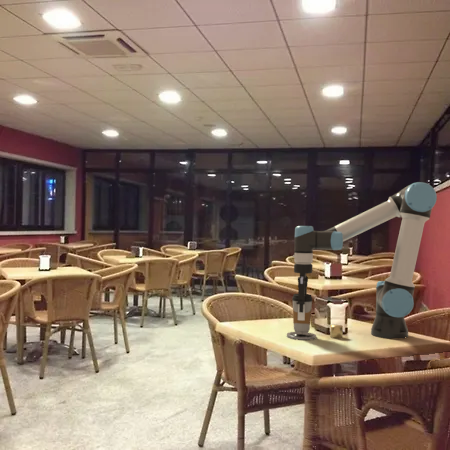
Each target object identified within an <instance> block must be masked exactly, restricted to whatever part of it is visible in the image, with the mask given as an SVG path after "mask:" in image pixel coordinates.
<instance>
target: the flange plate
mask: <svg viewBox="0 0 450 450" xmlns="http://www.w3.org/2000/svg"><path fill="white" fill-rule="evenodd" d="M286 337H287V338H288V339H291V340H296V339H298V340H297V341H311V340H310V339H313V340H316V339H317V335H316V334H315V333H313V332H307V333H299V332H295V331H289V332H287V333H286ZM315 338H316V339H315Z"/></svg>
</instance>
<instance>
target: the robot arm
mask: <svg viewBox="0 0 450 450" xmlns="http://www.w3.org/2000/svg"><path fill="white" fill-rule="evenodd" d="M437 200H438V197H437V193H436V190H435V189H434V187H433V186H432V185H430V184H429V183H426V182H422V181H421V182H420V181H417V182H413V183H411V184H408V185H407V186H406V187H404V188H402V189H401V190H399V191H398V192H396V193H394V194H393V195H390V196H389V197H388V200H387V201H383V202H381V203H380V204H378V205H376V206H373V207H372V208H369V209H367V210H366V211H364V212H360V213H359V214H358V215H355V216H353V217H351V218H349V219H346V220H345V221H343V222H341V223H338V224H337V225H334V226H333V227H330V228H328V229H326V230H320V231H319V230H314V226H312V225H298V226H296V227H295V228H294V254H293V255H292V257H293V258H294V259H293V260H294V264H293V272H294V273H295V274H296V273H297V274H299V276H298V277H297V289H298V290H297V291H298V293H297V294H298V302H296V304H298V320H302V321H305V294H308V283H309V282H308V281H309V277H308V276H307V274H308V275H309V274H312V273H313V264H312V263H313V261H314V252H313V251H314V250H327V251H328V250H330V251H332V250H333V251H338V250H339V251H340V250H343V246H344V242H346V241H348V240H350V239H352V238H353V237H355V236H357V235H360V234H362V233H364V232H366V231H368V230H370V229H373V228H375V227H377V226H379V225H381V224H383V223H385V222H387V221H389V220H391V219H395V218H396V217H397V218H402V220H401V224H400V228H399V232H398V233H399V234H398V237H397V241H396V245H395V246H396V247H395V252H394V255H393V259H392V264H391V270H390V273H389V276H388V277H387V278H385V280H379V281H377V283H376V287H375V289H376V293H375V296H376V299H375V318H374V321H373V323H372V325H371V328H370V330H371V331H370V334H371V335H372V336H375V337H377V338H382V337H383V339H391V338H403V339H406V338H405V337H407V338H408V337H409V330H408V326H407V323H406V320H405V317H406V316H408V315H409V314H410V313H411V312H412V310H413V309H414V305H415V303H414V292H415V287H416V286H415V284H414V283H413V277H414V274H415V268H416V263H417V259H418V256H419V252H420V251H419V250H420V246H421V242H422V237H423V231H424V228H425V227H424V226H425V223H426V222H427V221H429V220H430V218H431V215H432V211H433V208H434V206H435V205H436V203H437Z"/></svg>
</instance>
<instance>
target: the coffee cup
mask: <svg viewBox="0 0 450 450" xmlns="http://www.w3.org/2000/svg"><path fill="white" fill-rule="evenodd" d="M291 299H292V300H291V301H292V321H293V322H292V323H293V330H294V332H299V333H307V332H308V333H310V329H311V320H312V319H311V317H312V305H313V297H312V294H308V293H307V294H305V321H302V320H298V304H296V302H298V293H294V294H293V295H292V297H291Z"/></svg>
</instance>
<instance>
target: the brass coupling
mask: <svg viewBox="0 0 450 450" xmlns="http://www.w3.org/2000/svg"><path fill="white" fill-rule="evenodd" d="M343 328H344V326H343V325H341V324H331V325H330V329H329V331H330V332H329V333H330V334H329V337H330V338H331V339H337V340H339V339H343V332H344V329H343Z"/></svg>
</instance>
